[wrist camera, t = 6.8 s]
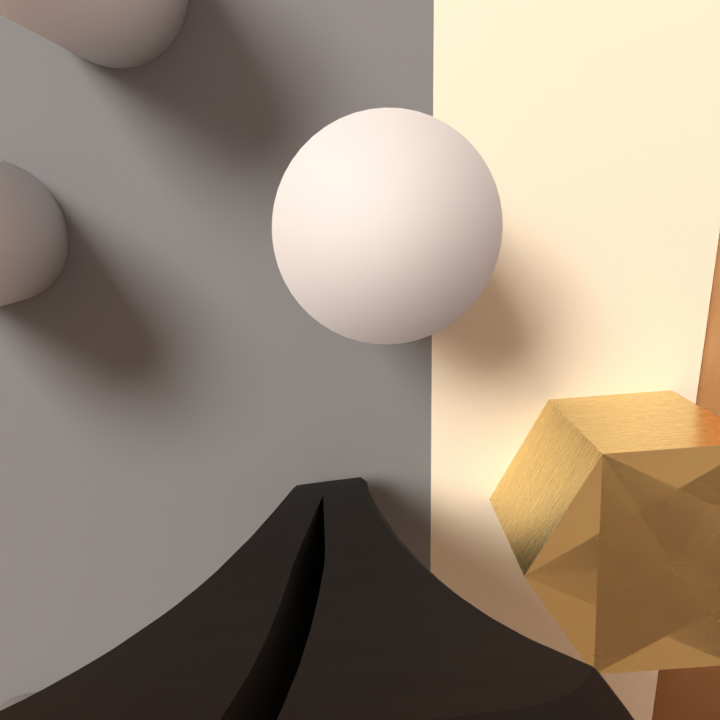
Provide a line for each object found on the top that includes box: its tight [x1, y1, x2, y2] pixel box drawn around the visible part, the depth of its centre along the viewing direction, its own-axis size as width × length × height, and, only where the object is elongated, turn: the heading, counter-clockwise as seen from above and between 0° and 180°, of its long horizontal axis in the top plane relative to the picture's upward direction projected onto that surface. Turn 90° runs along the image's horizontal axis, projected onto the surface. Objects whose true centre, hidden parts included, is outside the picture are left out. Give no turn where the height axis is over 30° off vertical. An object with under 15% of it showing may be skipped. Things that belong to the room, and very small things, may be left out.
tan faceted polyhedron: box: [489, 390, 720, 674], centre depth 10 cm, size 5×4×2 cm
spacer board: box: [0, 0, 720, 720], centre depth 9 cm, size 15×18×4 cm
